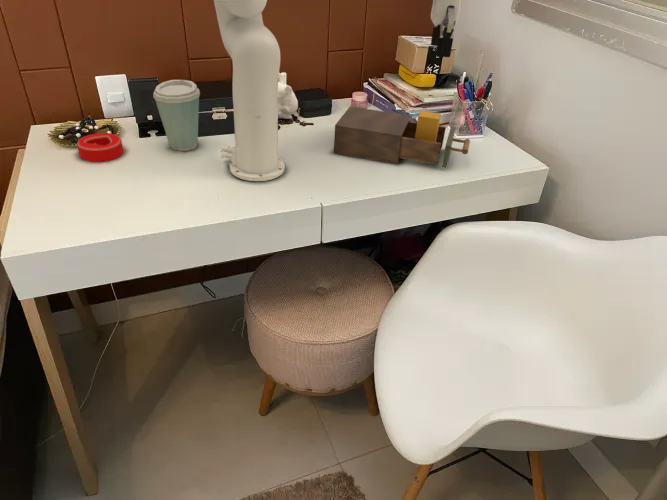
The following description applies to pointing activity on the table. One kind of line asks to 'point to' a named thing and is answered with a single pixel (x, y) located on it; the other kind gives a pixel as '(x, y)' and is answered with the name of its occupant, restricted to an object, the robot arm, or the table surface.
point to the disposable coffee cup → (179, 112)
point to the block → (427, 126)
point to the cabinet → (370, 134)
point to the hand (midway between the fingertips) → (439, 50)
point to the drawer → (429, 146)
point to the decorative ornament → (100, 147)
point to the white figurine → (285, 98)
